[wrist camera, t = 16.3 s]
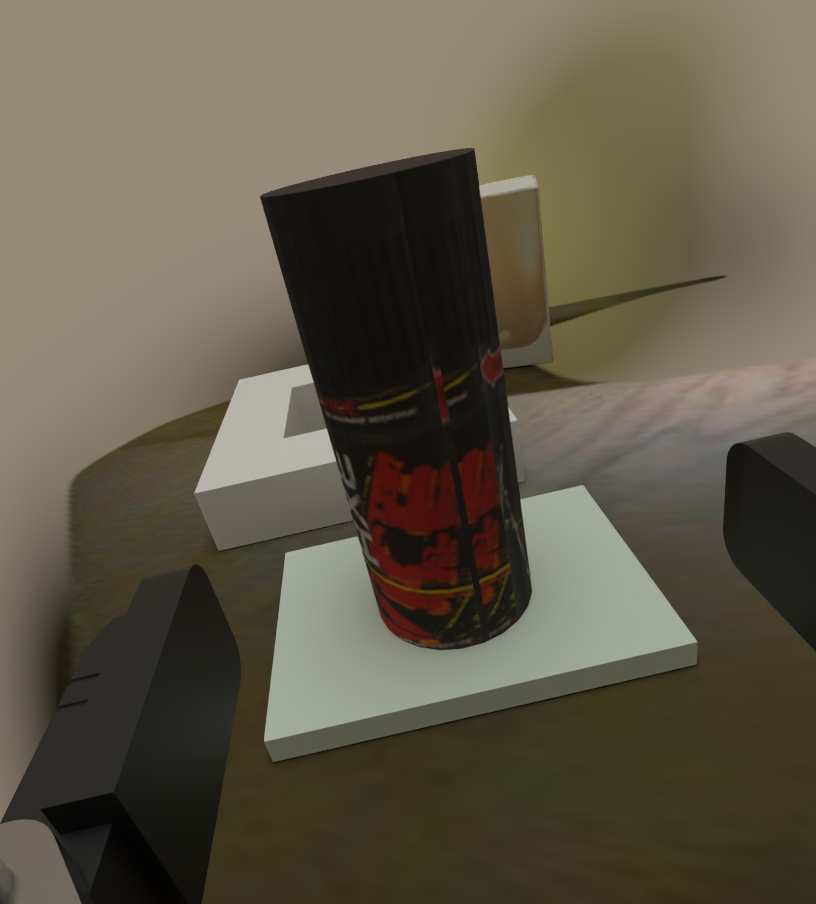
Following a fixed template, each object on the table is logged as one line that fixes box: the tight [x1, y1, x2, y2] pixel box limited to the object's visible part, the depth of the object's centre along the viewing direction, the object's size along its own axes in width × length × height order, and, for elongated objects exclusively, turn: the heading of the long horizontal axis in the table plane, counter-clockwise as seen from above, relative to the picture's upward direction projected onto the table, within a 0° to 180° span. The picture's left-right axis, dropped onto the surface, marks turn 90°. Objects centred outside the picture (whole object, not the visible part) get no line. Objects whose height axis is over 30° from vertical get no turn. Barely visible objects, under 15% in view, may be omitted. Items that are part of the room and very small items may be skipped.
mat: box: [264, 485, 698, 762], centre depth 24 cm, size 14×10×1 cm
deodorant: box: [260, 148, 532, 650], centre depth 20 cm, size 6×6×15 cm
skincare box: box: [479, 175, 553, 368], centre depth 45 cm, size 6×4×12 cm
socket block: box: [194, 365, 525, 551], centre depth 38 cm, size 16×16×4 cm
